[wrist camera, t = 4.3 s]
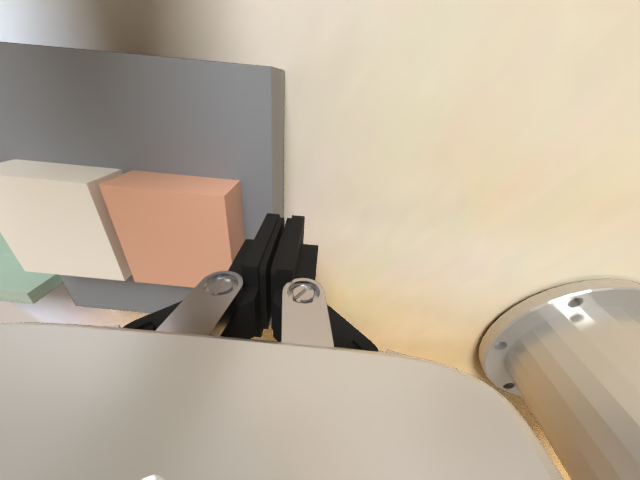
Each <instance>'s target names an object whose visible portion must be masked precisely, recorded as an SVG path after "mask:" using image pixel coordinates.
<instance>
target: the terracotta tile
mask: <svg viewBox="0 0 640 480" xmlns="http://www.w3.org/2000/svg"><path fill="white" fill-rule="evenodd" d="M99 187H100V189H101V192H102V195H103V197H104V200H105V203H106V205H107V208H108V211H109V214H110V216H111V219H112V222H113V224H114V227H115V230H116V232H117V235H118V238H119V240H120V243H121V246H122V249H123V251H124V254H125V257H126V259H127V262H128V265H129V267H130V270H131V273H132V275H133V278H134V281H135V282H141V283H151V284H161V285H172V286H182V287H192V288H195V287H196V286H197V285H198V284H199V282H200V281H201V280H202V279H204V278H205V277H206V276H208V275H210V274H212V273H215V272H218V271H228V270H229V268H230V266H231V264H232V262H233V261H234V259H235V257H236V255H237V253H238V252H239V250H240V248H241V246H242V245H243V243H244V241H245V234H244V221H243V209H242V197H241V184H240V180H231V179H220V178H209V177H199V176H188V175H177V174H167V173H156V172H146V171H135V170H132V171H130V172H127V173H125V174H123V175H120V176H118V177H115V178H113V179H111V180H108V181H106V182H103V183H101V184H99Z"/></svg>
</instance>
